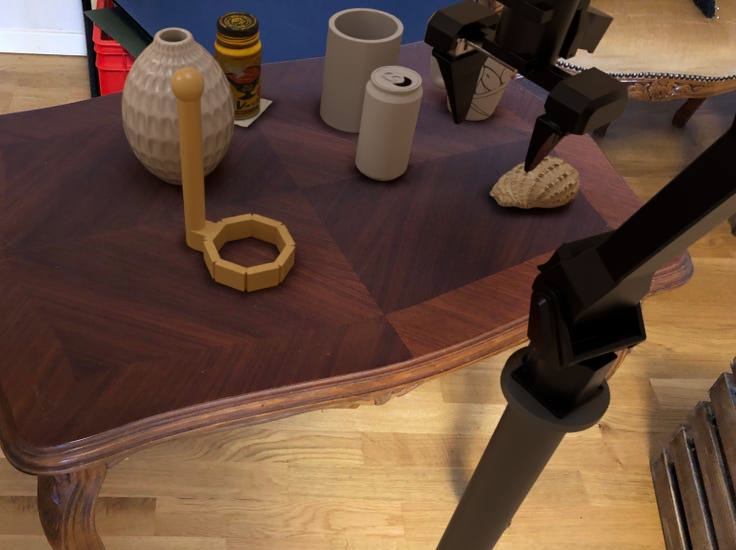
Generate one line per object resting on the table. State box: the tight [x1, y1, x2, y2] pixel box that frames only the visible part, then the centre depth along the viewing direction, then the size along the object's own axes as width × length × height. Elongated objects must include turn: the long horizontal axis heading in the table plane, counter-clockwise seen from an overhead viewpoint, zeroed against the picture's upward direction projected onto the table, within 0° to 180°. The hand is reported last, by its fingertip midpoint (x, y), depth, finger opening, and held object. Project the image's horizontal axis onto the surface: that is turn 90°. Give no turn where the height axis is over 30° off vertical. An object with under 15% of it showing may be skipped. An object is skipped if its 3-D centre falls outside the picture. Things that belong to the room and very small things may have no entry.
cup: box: [319, 7, 404, 134], centre depth 91 cm, size 9×9×12 cm
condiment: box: [213, 11, 273, 128], centre depth 92 cm, size 7×8×12 cm
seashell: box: [488, 154, 581, 209], centre depth 83 cm, size 8×6×10 cm
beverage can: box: [354, 65, 424, 182], centre depth 84 cm, size 6×6×12 cm
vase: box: [121, 27, 235, 186], centre depth 81 cm, size 13×13×17 cm
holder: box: [171, 67, 296, 293], centre depth 70 cm, size 13×9×20 cm
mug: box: [429, 47, 514, 122], centre depth 94 cm, size 11×8×10 cm
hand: (492, 146), depth 69 cm, fingers open, 9 cm apart
